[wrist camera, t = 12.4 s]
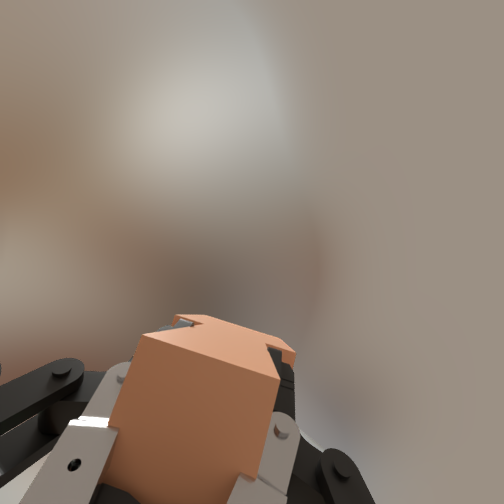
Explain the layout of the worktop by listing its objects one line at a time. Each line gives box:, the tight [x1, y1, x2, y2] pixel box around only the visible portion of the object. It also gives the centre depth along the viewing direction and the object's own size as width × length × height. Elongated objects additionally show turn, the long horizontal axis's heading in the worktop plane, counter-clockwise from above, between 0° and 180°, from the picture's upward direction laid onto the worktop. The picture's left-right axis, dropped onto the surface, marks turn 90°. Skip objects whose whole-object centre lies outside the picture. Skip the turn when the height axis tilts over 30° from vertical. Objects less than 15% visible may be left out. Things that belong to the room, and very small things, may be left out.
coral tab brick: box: [102, 315, 296, 504], centre depth 15 cm, size 19×8×4 cm, turn 0°
